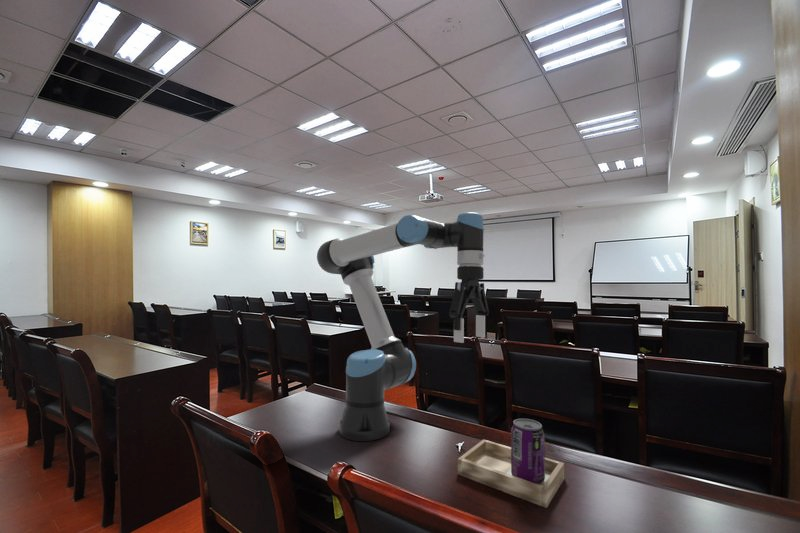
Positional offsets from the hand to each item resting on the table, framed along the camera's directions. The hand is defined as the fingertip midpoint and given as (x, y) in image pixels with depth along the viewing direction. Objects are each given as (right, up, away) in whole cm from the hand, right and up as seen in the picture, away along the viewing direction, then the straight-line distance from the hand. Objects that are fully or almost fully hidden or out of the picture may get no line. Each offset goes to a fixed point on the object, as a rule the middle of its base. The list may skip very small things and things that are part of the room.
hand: (470, 339), depth 103 cm
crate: (+5, -28, -20) cm, 35 cm away
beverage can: (+8, -27, -23) cm, 36 cm away
